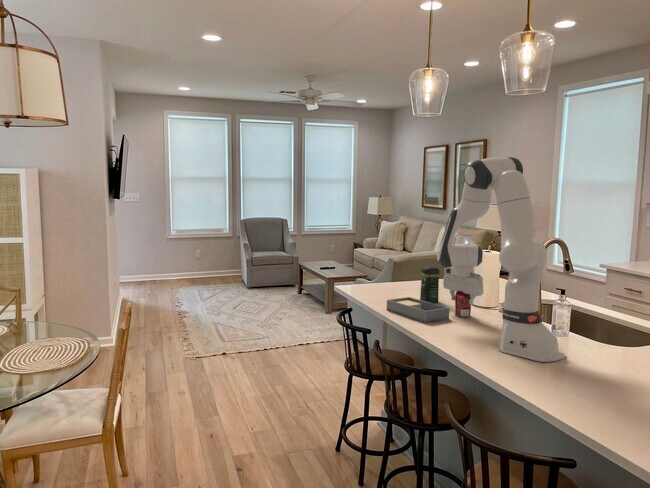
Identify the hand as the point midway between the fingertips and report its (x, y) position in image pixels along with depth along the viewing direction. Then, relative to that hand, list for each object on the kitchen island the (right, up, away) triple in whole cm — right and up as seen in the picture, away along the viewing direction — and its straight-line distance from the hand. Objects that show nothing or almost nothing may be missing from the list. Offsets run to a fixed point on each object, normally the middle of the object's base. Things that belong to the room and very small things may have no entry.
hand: (461, 302), depth 217 cm
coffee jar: (-9, -4, +27) cm, 28 cm away
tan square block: (-23, -4, +8) cm, 25 cm away
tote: (-20, -6, +2) cm, 21 cm away
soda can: (0, -7, +1) cm, 7 cm away
